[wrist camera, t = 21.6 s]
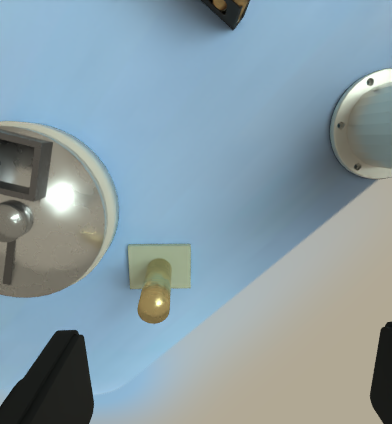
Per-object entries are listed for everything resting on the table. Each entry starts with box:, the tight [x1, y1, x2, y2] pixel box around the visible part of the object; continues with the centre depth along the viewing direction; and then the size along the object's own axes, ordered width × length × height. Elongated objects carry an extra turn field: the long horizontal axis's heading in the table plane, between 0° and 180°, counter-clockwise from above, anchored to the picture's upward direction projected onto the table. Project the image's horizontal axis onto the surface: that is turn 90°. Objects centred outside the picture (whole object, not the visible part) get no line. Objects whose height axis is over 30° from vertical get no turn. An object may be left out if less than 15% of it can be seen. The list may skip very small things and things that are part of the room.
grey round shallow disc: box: [0, 126, 108, 298], centre depth 31 cm, size 19×19×4 cm
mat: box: [128, 244, 191, 289], centre depth 38 cm, size 8×6×1 cm
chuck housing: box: [0, 121, 119, 285], centre depth 34 cm, size 20×20×3 cm
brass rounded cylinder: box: [138, 258, 172, 324], centre depth 34 cm, size 3×3×9 cm
